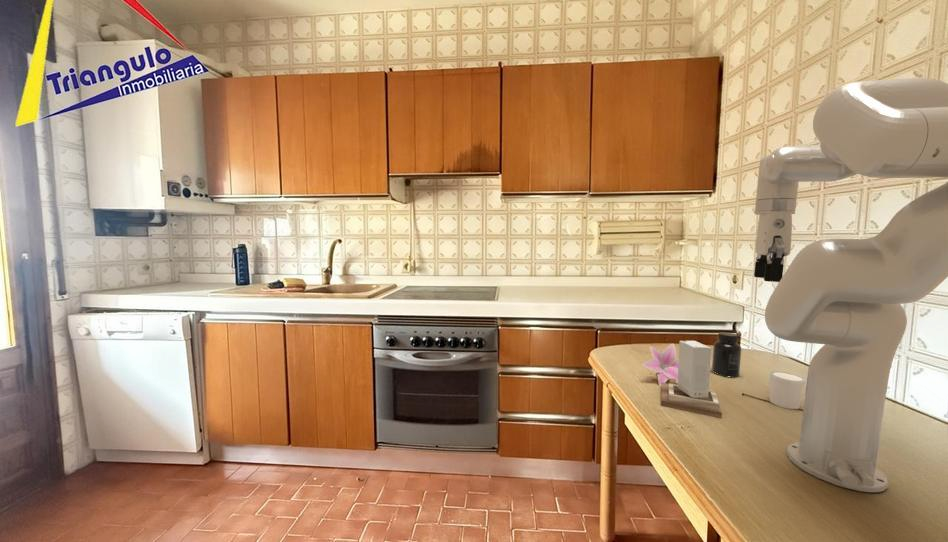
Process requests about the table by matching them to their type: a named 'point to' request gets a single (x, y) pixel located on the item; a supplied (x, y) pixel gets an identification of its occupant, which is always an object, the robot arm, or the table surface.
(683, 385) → the skincare box
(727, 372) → the supplement bottle
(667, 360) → the lily
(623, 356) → the table surface
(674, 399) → the square wooden tray
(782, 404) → the white cylinder
